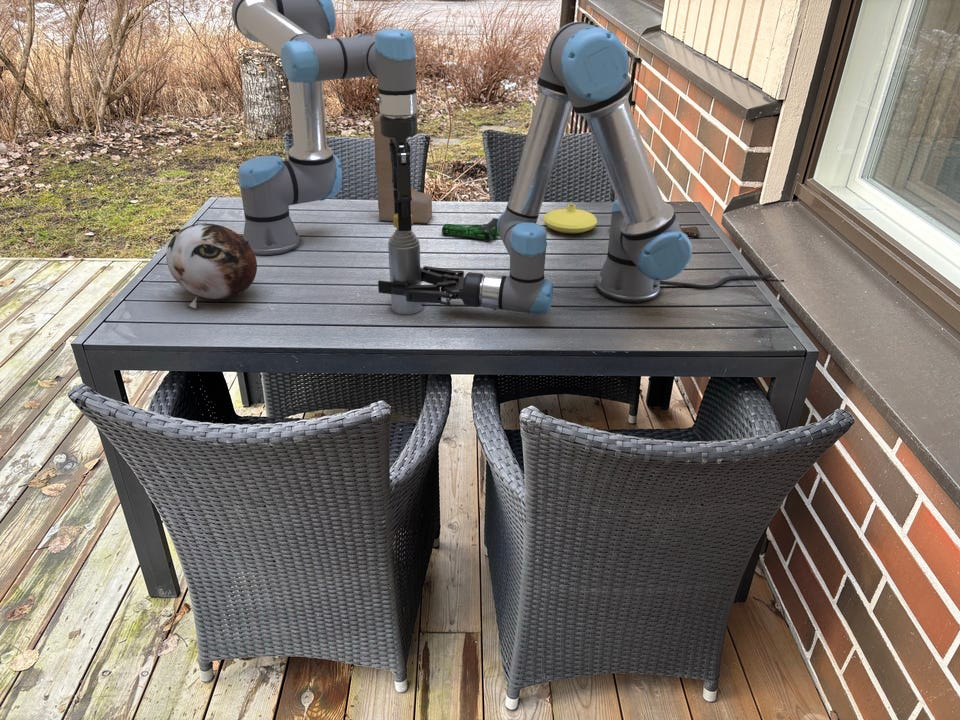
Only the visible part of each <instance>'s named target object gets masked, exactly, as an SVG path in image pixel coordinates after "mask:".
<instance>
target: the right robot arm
mask: <svg viewBox="0 0 960 720" xmlns="http://www.w3.org/2000/svg"><path fill="white" fill-rule="evenodd" d="M629 71H630V57H629V54H628V50H627V48H626V45H625V44H624V42H622V41H621V39H620V38H619V37H618V36H617V35H616V34H615V33H614V32H612V31H610V30H608V29H607V28H603V27H600V26H599V27H598V26H595V25H593V24H591V23H588V22H585V21H572V22H569V23H566V24H565V25H564V24H563V26H561V27H560V28H559V29H557V31H555V33H553V35H552V36H551V38H550V40H549V42H548V44H547V46H546V50H545V53H544V55H543V59H542V64H541V66H540V71H539V74H538V78H537V81H536V87H537V89H538V92H539V93H538V96H537V99H536V104H535V106H534V109H533V113H532V117H531V120H530V124H529V128H528V131H527V134H526V138H525V141H524V145H523V147H522V152H521V156H520V159H519V162H518V166H517V169H516V173H515V175H514V179H513V183H512V186H511V190H510V193H509V197H508V200H507V204H506V207H505V209H504V211H503V212H502V213H501V214H500V215H499V217H498V218H497V219H498V222H497V229H498V234H499V236H498V237H499V238H500V240H501V241H502V243H503V245H504V247H505V250H506V251H507V254H508V255H509V275H503V274H495V273H494V274H493V273H486V274H485V275H484V273H482V272H474V271H473V272H472V271H469V272H467V273H466V274H465V271H464V270H454V269H447V268H442V267H441V268H440V267H435V266H428V265H424V266H423V268H421V283H423V282H424V283H426V284H421V285H413V286H408V283H398V282H390V280H379V279H378V281H377V286H378V287H377V288H378V293H379V294H387V295H391V294H394V295H402V296H406V301H407V302H420V303H423V304H438V305H439V304H440V305H444V306H450V305H451V301H452V300H461V301H462V304H463V305H464V306H466V307H474V308H479V307H482V308H484V309H493V310H494V311H496V310H500V311H501V310H502V311H508V312H509V311H510V312H518V313H527V314H529V315H530V314H534V315H546V314H548V313H550V311H551V308H552V304H553V298H554V283H553V281H551V280H549V279H545V267H546V255H547V254H546V253H547V246H548V241H547V230H546V228H545V226H543V225H542V224H541V225H540V224H539V223H537V222H538V219H539V215H540V212H541V209H542V205H543V202H544V199H545V197H546V192H547V190H548V186H549V183H550V180H551V177H552V174H553V171H554V167H555V164H556V161H557V158H558V155H559V151H560V149H561V145H562V143H563V142H562V141H563V139H564V136H565V133H566V129H567V126H568V123H569V120H570V117H571V114H572V110H573V112H574V113H575V115H577V116H580V117H583V118H584V119H585V120H586V122H587V125H588V128H589V131H590V133H591V136H592V138H593V141H594V143H595V146H596V149H597V151H598V153H599V157H600V159H601V162H602V164H603V167H604V169H605V172H606V175H607V178H608V180H609V182H610V185H611V188H612V190H613V193H614V195H615V198H616V199H615V200H613V204H612V210H611V212H610V214H611V215H610V216H611V218H610V224H609V234H608V244H607V253H606V254H607V255H606V258H605V261H604V264H603V265H602V267H601V270H600V271H599V273H598V276H597V280H596V283H595V284H596V286H595V287H596V290H597V292H598V293H600V294H601V295H602V296H604V297H605V298H608V299H610V300H613V301H617V302H621V303H622V302H623V303H633V304H634V303H635V304H636V303H646V302H649V301H652V300H655V299H657V297H658V296H659V294H660V292H661V291H660V290H661V285H664V286H675V287H676V286H678V287H687V288H693V289H706V290H707V289H714V288H718V287H720V286H721V285H722V284H724V283H725V282H728V281H733V280H759V279H760V280H762V279H770V278H771V279H772V278H773V277H772V276H771V274H772V273H768V274H757V275H758V276H759V277H758V276H757V275H750V276H748V275H749V274H747V275H746V274H745V275H743V274H742V275H741V274H740V275H729V276H726V277H723V278H722V279H720V280H719V281H718V282H717V283H712V284H696V283H690V282H679V281H670V279H672V278H674V277H676V276H678V275H679V274H681V273H682V272H683V271H684V270H685V269H686V268H687V265H688V264H689V262H690V261H691V259H692V256H693V245H692V242H691V240H690V238H689V236H688V237H687V235H686V234H684V233H682V231H681V229H680V226H679V225H680V223H679V221H678V218H677V215H676V212H675V210H674V209H675V208H674V207H673V206H672V205H671V204H670V203H668V202H667V203H666V202H665V201H664V200H663V197H662V195H661V191H660V189H659V186H658V183H657V180H656V177H655V174H654V172H653V169H652V166H651V162H650V160H649V157H648V153H647V151H646V147H645V146H644V142H643V139H642V137H641V134H640V131H639V128H638V125H637V122H636V119H635V116H634V114H633V110H632V108H631V105H630V102H629V96H630V94H631V92H632V90H633V85H632V82H631V80H630V76H629ZM668 280H669V281H668Z"/></svg>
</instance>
